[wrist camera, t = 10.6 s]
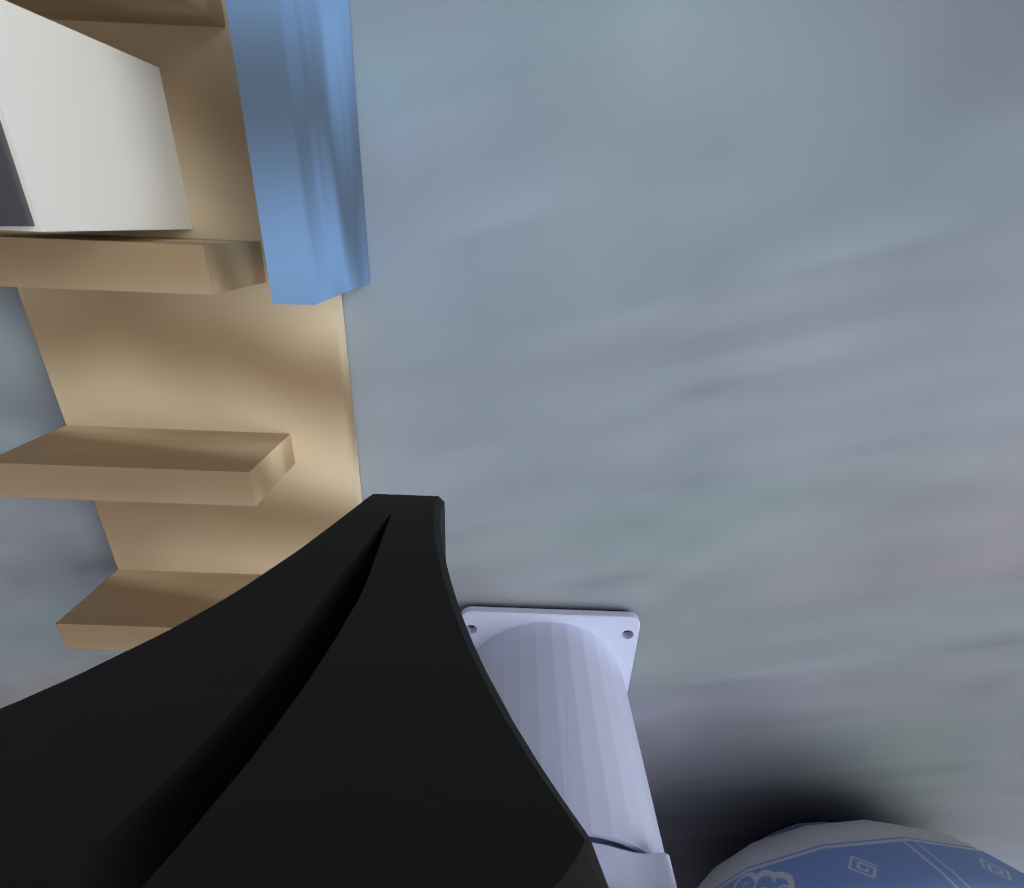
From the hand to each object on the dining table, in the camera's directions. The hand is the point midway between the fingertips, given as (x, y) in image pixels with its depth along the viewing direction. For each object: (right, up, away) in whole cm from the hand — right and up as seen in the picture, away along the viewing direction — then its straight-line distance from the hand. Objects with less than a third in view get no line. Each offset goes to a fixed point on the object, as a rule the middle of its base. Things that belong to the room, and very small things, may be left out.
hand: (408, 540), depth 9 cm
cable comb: (-8, +5, +8) cm, 13 cm away
